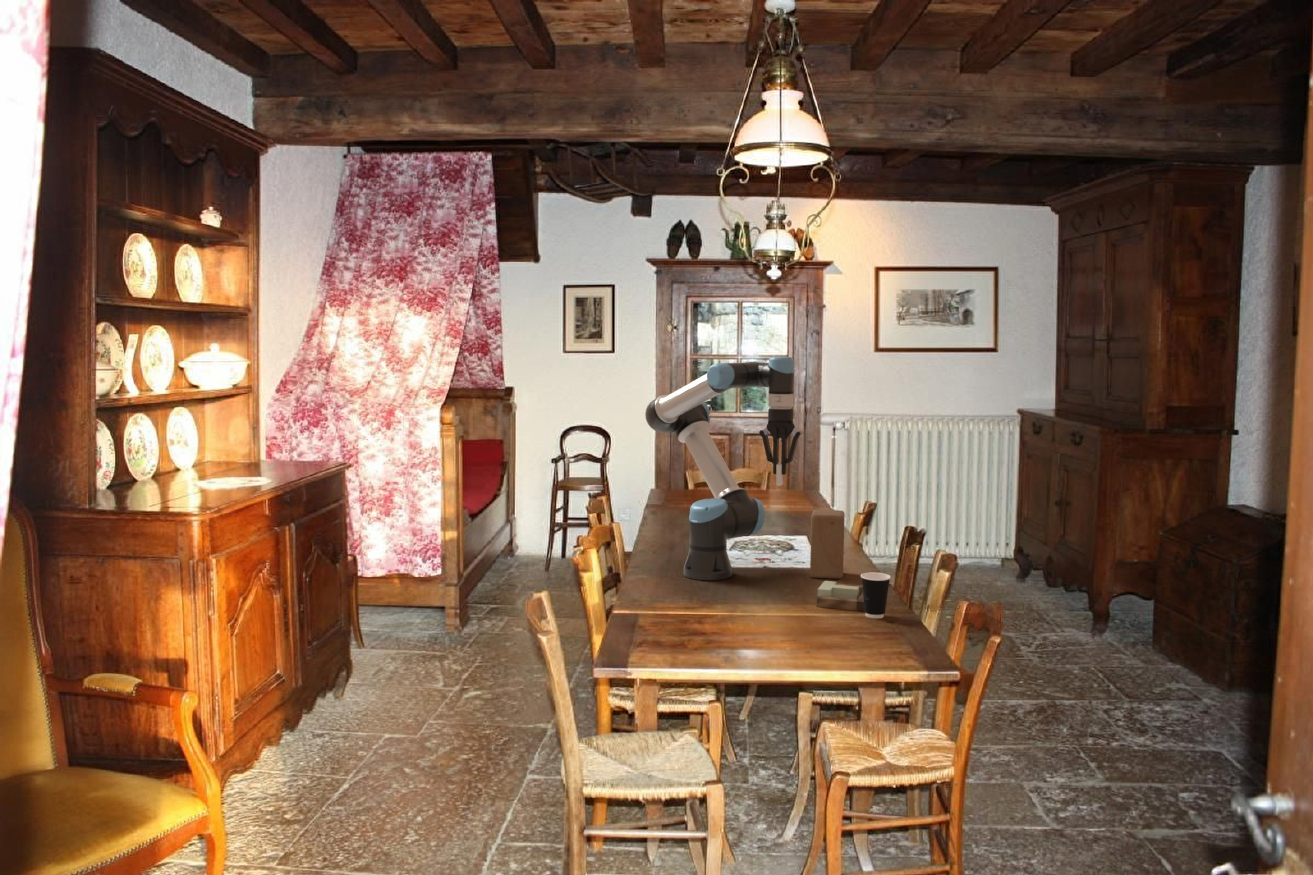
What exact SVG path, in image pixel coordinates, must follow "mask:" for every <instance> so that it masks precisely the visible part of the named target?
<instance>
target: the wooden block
mask: <svg viewBox="0 0 1313 875" xmlns="http://www.w3.org/2000/svg"><path fill="white" fill-rule="evenodd" d="M845 518H846V516H845V511H844V510H835V509H813V510H812V513H811V517H810V552H809V554H810V561H809V575H810V577H811V578H814V579H817V578H818V579H835V580H836V579H837V580H841V579H842V578H843V576H844V560H845V559H844V557H845V556H844V554H845V551H844V550H845Z"/></svg>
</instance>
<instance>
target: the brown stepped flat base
mask: <svg viewBox="0 0 1313 875" xmlns="http://www.w3.org/2000/svg"><path fill="white" fill-rule="evenodd" d="M836 585H846V586H857V587H859V599H858V600H855V599H845V598H834V597H823V596H818V595H817V596H816V607H818V608H830V609H835V610H836V609H837V610H848V611H859V612H864V600H863V588H862V584H860V585H858V584H847V583H837V582H836Z"/></svg>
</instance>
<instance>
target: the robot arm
mask: <svg viewBox="0 0 1313 875" xmlns="http://www.w3.org/2000/svg"><path fill="white" fill-rule="evenodd" d="M794 385H795V362H794V358H793V357H792V356H770V357H769V359H768V362H760V361H759V362H757V361H749V362H747V361H746V362H719V363H714V364H713V363H712V365H710V366H709V368H708V369H707V372H706V373H705V374H703V375H702V376H700V377H698V378H696V379H695V380H693V381H691V382H688V383H687V384H685V385H684V386H682V387H680V388H678V389H676V390H675V391H673V392H671V393H670V394H668V395H667V394H663V395H659V396H658V397H656V398H654V399H653V400H651V401H650V402H649V403H648V405H647V407H646V409H645V412H644V413H645V420H646V423H647V425H648V426H649V428H651V429H652V430H653V431H655V432H657V433H660V434H661V433H662V434H673V433H674V434H675V436H676V438H677V440H678V441H679V442H680V443H683V444H685V445H686V447H687V449H688V451H689V453H690V454H691V456H692V458H693V460H694V462H695V464H696V465H697V468H698V470H699V471H700V474H701V475H702V477H703V479H704V481H705V483H706V484H707V486H708V488H709V490H710V492H711V494H712V495H713V498H704V499H700V500H697V501H695V502H692V504H691V506H690V509H689V516H688V520H689V542H688V543H689V546H688V547H689V549H688V550H689V551H688V554H687V556H686V560H685V563H684V566H683V576H684V577H687V578H688V579H693V580H699V581H719V580H725V579H728V578H731V577H732V576H733V567H732V564H731V561H730V558H729V554H728V550H727V547H728V546H727V543H728V542H727V540H730V539H736V538H740V537H741V538H743V537H750V536H753V535H756V534H758V533H759V532H760V531H761V530H762V528H763V527H764V524H765V518H766V512H765V511H766V510H765V507H764V505H763V503H762V502H761V500H759V499H757V498H755V497H750V495H749V493H748V491H747V490H746V489H745V488H742V487H740V486H739V485H738V483H737V481H736V479H735V477H734V475H733V474H732V472H731V469H729V467H728V465H727V463H726V462H725V459H724V458H723V455H722V454H721V453H720V451H719V449H718V447H717V445H716V443H715V442H714V439H713V438H712V436H711V434H710V432H709V429H710V422H711V416H710V414H711V412H710V409H709V407H708V405H707V403H706V402H707V401H709V400H711V399H713V398H715V397H717V396H719V395H721V394H722V393H725V392H726V391H728V390H729V389H736V388H737V389H738V388H739V389H740V388H768V400H767V401H768V403H767V404H768V407H769V408H768V410H767V413H768V414H767V424H766V425H765V426H766V427H765V428H763V429H761V430H759V431H758V434H759V435H760V437H761V438H762V443H763V446H764V450H765V456H766V460H767V462H769V463H772V464H773V465H772V467H773V468H772V470H773V471H772V474H773V475H775V478H776V479H775V481H776V482H775V486H779V487H782V486H783V485H784V476H785V475H787V466H788V465H787V464H789V463H791V462H794V457H795V453H796V449H797V446H798V442H799V438H800V437H801V435H802V433H803V432H802V431H801V430H798V429H797V428H796V426H795V424H794V409H793V407H794V400H795V399H794V389H795V388H794V387H795V386H794ZM768 434H770V436H772V437H771V438H772V446H773V448H771V445H770V444H771V443H770V438H769V436H768ZM791 434H792V436H793V438H792V440H791V444H790V448H789V452H788V439H789V437H790V435H791ZM780 440H781V441H780ZM780 442H781V450H780ZM779 451H781V452H779ZM780 453H781V458H780V457H779V456H780ZM779 459H781V462H780V460H779Z"/></svg>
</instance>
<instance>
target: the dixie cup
mask: <svg viewBox="0 0 1313 875" xmlns="http://www.w3.org/2000/svg"><path fill="white" fill-rule="evenodd" d="M860 578H861V586H862V588H863V600H864V611H863V612H864V613H865V617H866V618H869V619H883V618H884V616H885V613H886V609H887V600H888V593H889V586H890V579H891V575H890V574H888V573H883V572H865V573H861V574H860Z"/></svg>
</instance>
